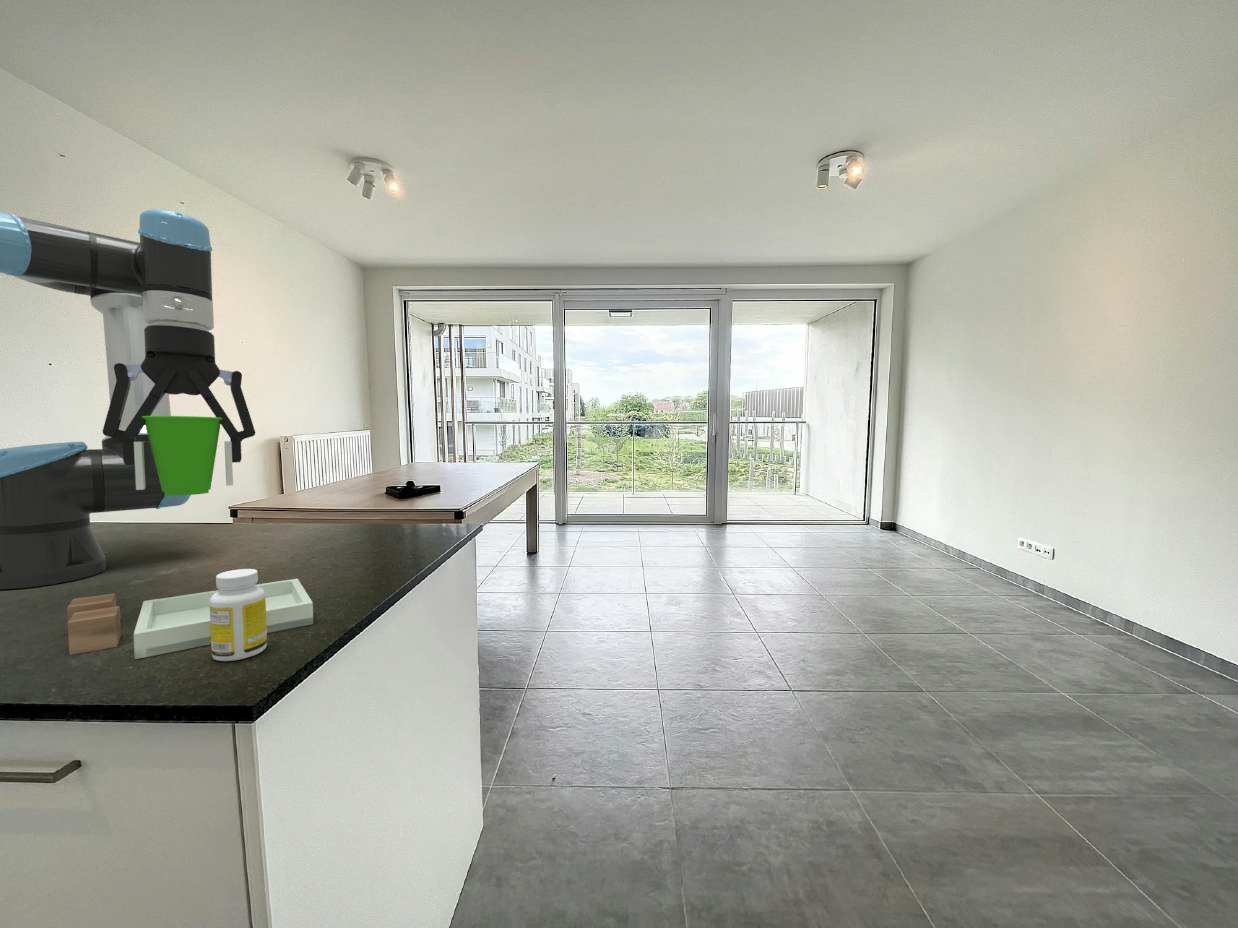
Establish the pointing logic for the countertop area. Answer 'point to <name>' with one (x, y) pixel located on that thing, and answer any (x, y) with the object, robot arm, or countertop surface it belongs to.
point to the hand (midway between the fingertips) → (187, 486)
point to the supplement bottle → (237, 616)
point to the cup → (183, 452)
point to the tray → (189, 618)
